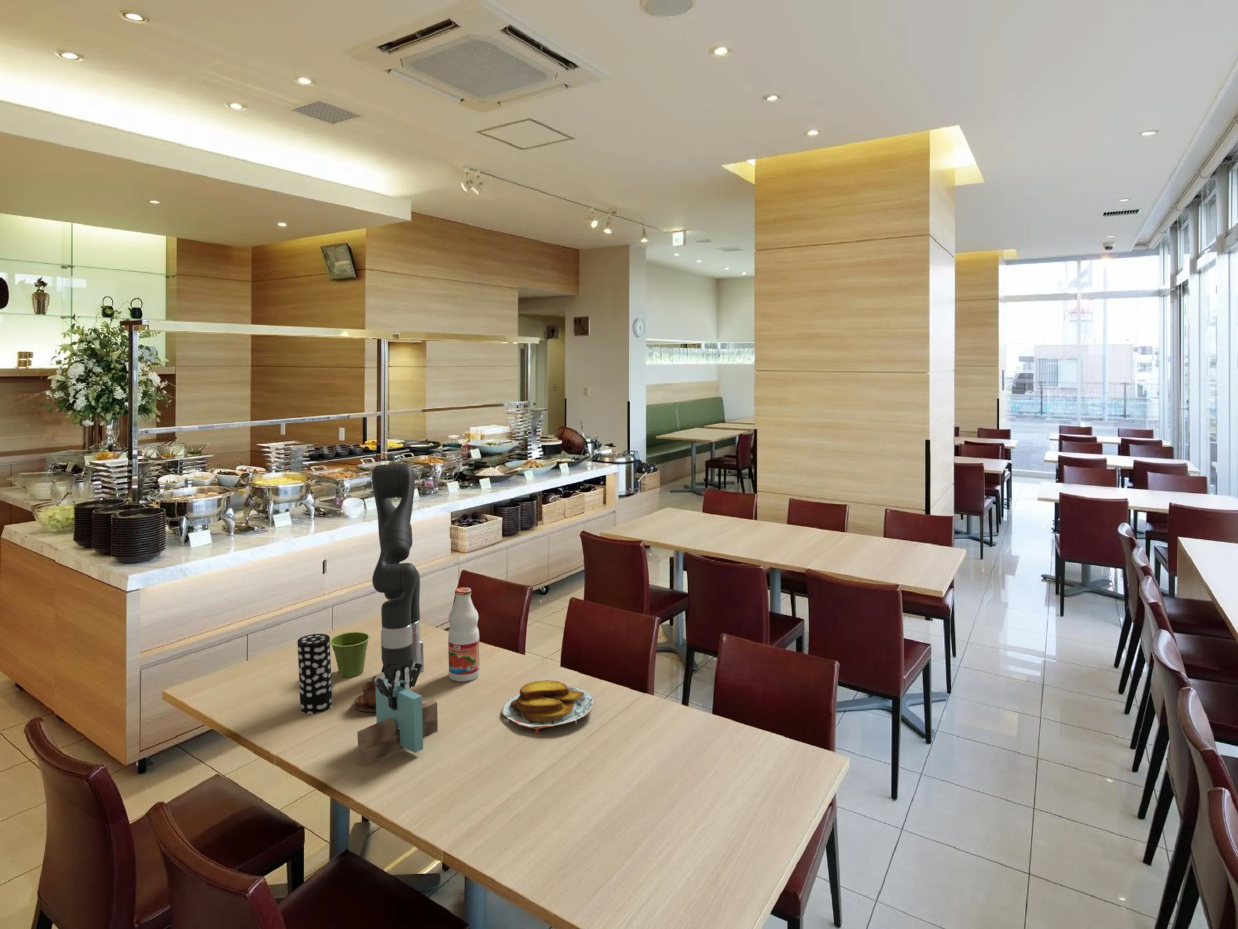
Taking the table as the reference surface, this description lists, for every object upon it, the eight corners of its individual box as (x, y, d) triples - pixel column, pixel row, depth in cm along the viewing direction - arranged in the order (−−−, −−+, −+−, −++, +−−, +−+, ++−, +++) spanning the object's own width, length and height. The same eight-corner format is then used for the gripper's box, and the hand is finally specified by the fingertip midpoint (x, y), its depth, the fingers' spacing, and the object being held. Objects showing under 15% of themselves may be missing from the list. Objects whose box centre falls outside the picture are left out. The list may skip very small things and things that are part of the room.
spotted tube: (324, 714, 200) (322, 645, 197) (295, 713, 200) (291, 644, 198) (337, 700, 208) (334, 634, 206) (308, 700, 208) (305, 633, 206)
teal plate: (384, 728, 190) (383, 678, 188) (423, 749, 180) (421, 696, 178) (376, 732, 188) (375, 681, 186) (415, 753, 178) (413, 699, 176)
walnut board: (432, 728, 193) (431, 699, 192) (437, 730, 192) (437, 702, 191) (358, 762, 176) (357, 731, 175) (364, 765, 175) (363, 734, 174)
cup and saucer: (385, 718, 199) (384, 697, 198) (345, 713, 201) (345, 692, 201) (406, 698, 211) (406, 678, 210) (369, 694, 213) (368, 674, 212)
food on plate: (547, 746, 186) (547, 721, 185) (483, 714, 202) (483, 692, 201) (613, 710, 205) (613, 688, 204) (550, 684, 222) (550, 663, 221)
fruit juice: (485, 672, 229) (484, 587, 225) (469, 684, 220) (468, 595, 216) (459, 668, 232) (458, 583, 228) (442, 679, 223) (441, 592, 219)
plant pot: (332, 667, 231) (331, 633, 229) (371, 663, 234) (370, 630, 233) (329, 683, 220) (327, 647, 218) (370, 678, 223) (369, 643, 222)
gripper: (381, 653, 173) (383, 722, 175) (429, 637, 184) (430, 701, 186) (363, 646, 177) (365, 712, 180) (411, 630, 188) (412, 693, 190)
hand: (398, 706), depth 183 cm, fingers closed on teal plate, 2 cm apart
